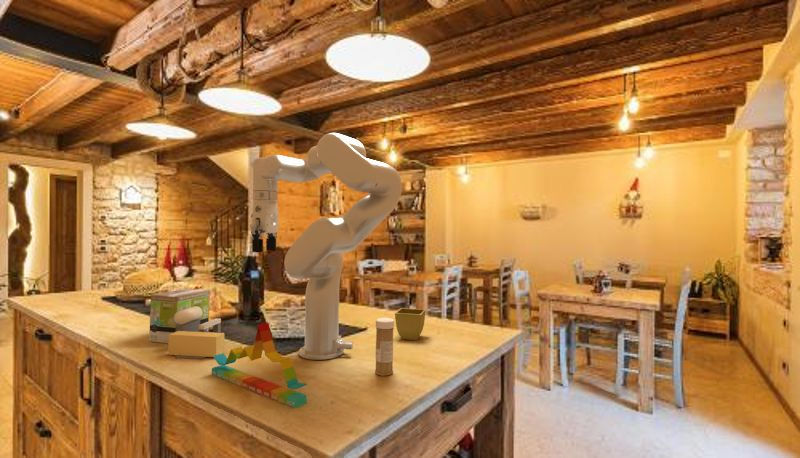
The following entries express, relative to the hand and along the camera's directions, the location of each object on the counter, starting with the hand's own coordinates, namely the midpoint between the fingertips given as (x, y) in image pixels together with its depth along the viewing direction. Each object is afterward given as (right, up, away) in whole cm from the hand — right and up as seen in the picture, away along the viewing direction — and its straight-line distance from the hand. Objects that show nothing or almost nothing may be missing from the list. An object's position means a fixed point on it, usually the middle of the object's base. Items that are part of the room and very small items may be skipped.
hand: (264, 251), depth 126 cm
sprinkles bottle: (+39, -29, -27) cm, 56 cm away
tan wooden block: (-14, -28, -15) cm, 34 cm away
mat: (-14, -28, -15) cm, 35 cm away
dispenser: (-18, -28, -6) cm, 34 cm away
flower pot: (+46, -29, +5) cm, 55 cm away
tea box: (-28, -28, +3) cm, 40 cm away
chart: (+10, -29, -37) cm, 48 cm away
